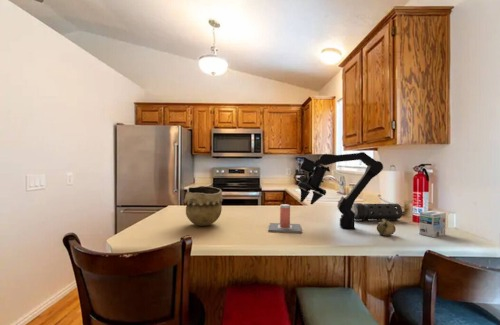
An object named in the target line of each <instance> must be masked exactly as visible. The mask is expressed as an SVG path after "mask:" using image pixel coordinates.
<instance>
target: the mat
mask: <svg viewBox="0 0 500 325" xmlns="http://www.w3.org/2000/svg"><path fill="white" fill-rule="evenodd" d="M267 231H268V233H285V234H286V233H288V234H302V233H303V230H302V226H301V223H290V227H289V228H282V227H280V222H270V223H269V226H268V230H267Z"/></svg>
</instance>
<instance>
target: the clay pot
mask: <svg viewBox="0 0 500 325" xmlns="http://www.w3.org/2000/svg"><path fill="white" fill-rule="evenodd" d="M222 191H223V190H222V189H221V188H218V187H213V186H210V185H209V186H208V185H200V186H199V185H198V186H194V187H191V186H189V187H187V190H186V193H185V195H184V199H183V201H182V203H183V204H184V205H186V206H185V215H186V217H187V219H188V220H189V221H190V222H191V223H192V224H194V225H196V226H201V227H203V226H210V225H212V224H214V223H215V222H216V221H217V220H218V219H219V218H220V216H221V215H222V211H223V210H222V209H223V208H222V206H223V205H222V203H223V201H224V198H223V192H222Z"/></svg>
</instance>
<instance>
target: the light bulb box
mask: <svg viewBox="0 0 500 325" xmlns="http://www.w3.org/2000/svg"><path fill="white" fill-rule="evenodd" d="M446 217H447V213H446V212H443V211H442V212H441V211H438V210H437V211H435V210H427V211H419V227H418V229H419V235H423V236H427V237H430V238H436V237H443V236H446V225H447V224H446V223H447V222H446V220H447V218H446Z"/></svg>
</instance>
